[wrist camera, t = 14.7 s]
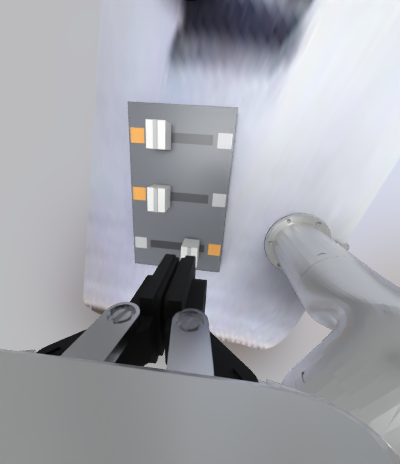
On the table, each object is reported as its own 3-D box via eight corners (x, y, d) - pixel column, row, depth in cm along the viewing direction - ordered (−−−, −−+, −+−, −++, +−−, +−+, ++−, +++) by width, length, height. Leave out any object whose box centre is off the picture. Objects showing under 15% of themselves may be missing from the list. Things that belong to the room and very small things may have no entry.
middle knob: (170, 185, 38) (164, 189, 34) (170, 207, 39) (164, 213, 35) (154, 184, 38) (146, 187, 34) (154, 205, 40) (146, 211, 35)
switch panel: (236, 111, 36) (237, 107, 33) (219, 265, 46) (219, 272, 43) (134, 105, 37) (127, 101, 34) (140, 256, 48) (134, 263, 45)
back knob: (199, 239, 41) (197, 249, 37) (198, 258, 42) (196, 268, 38) (184, 238, 41) (180, 247, 37) (183, 256, 43) (179, 267, 38)
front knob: (171, 124, 35) (164, 119, 30) (170, 150, 36) (164, 149, 32) (153, 123, 35) (144, 118, 31) (153, 149, 36) (145, 148, 32)
